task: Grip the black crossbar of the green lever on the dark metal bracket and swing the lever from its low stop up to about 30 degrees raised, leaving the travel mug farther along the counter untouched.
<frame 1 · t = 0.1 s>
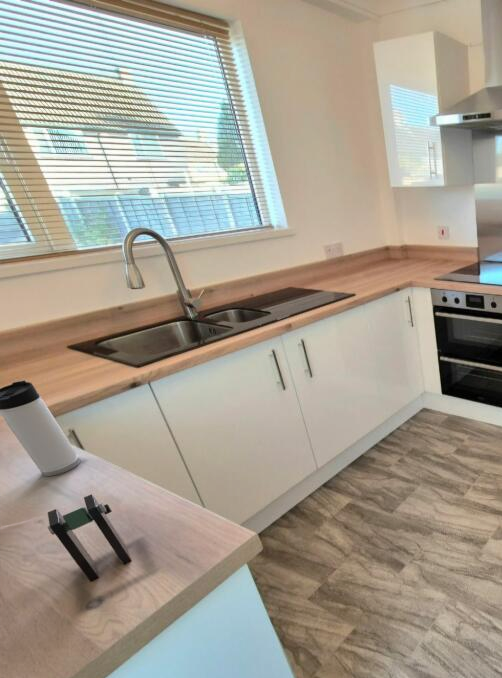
lever: (83, 517, 67), point 8 cm above the table, hinge at -30.0°
travel mug: (63, 467, 95), on the table
bracket: (113, 570, 68), on the table
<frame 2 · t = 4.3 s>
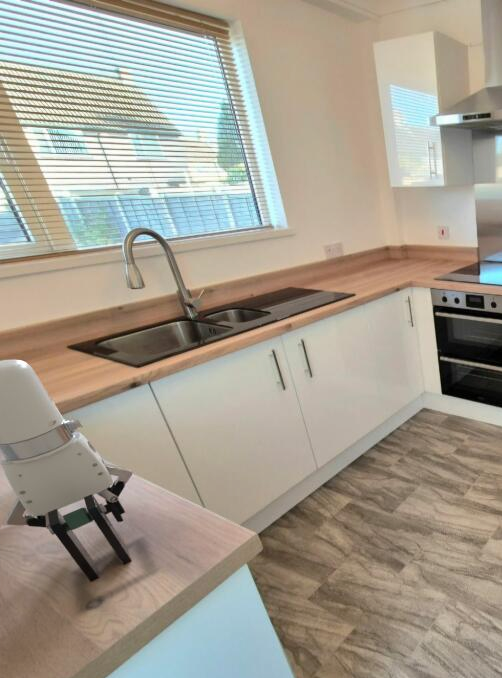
hand: (96, 528, 72), 3 cm above the table, tool pointing down, fingers closed on lever, 5 cm apart
lever: (83, 517, 67), point 8 cm above the table, hinge at -30.0°, touching gripper
everything else where it was.
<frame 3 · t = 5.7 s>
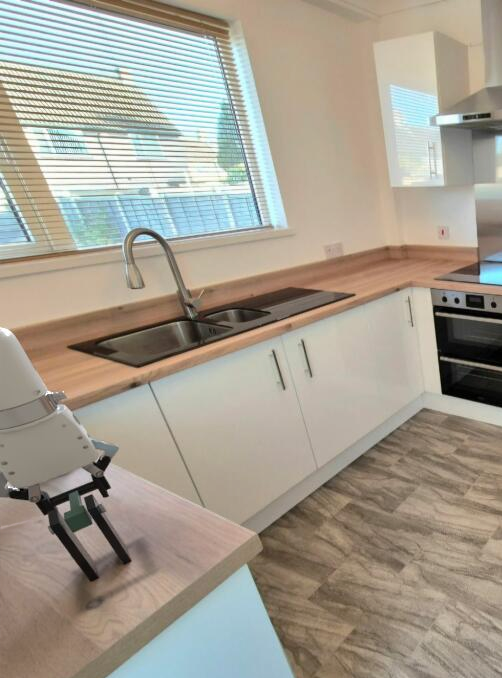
hand: (80, 503, 71), 8 cm above the table, tool pointing down, fingers closed on lever, 5 cm apart
lever: (76, 506, 66), point 10 cm above the table, hinge at -6.0°, touching gripper
everything else where it was.
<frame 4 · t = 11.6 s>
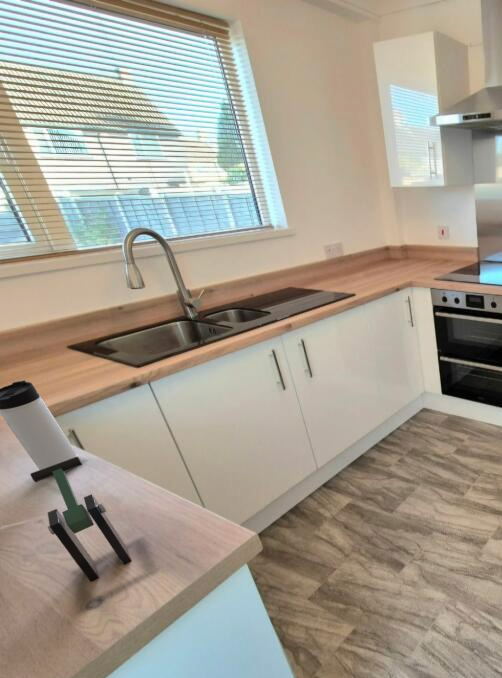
lever: (67, 494, 65), point 13 cm above the table, hinge at 22.6°
everything else where it was.
at the end: lever at +23° (first picture: -30°); travel mug moved 0.2 cm from its start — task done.
